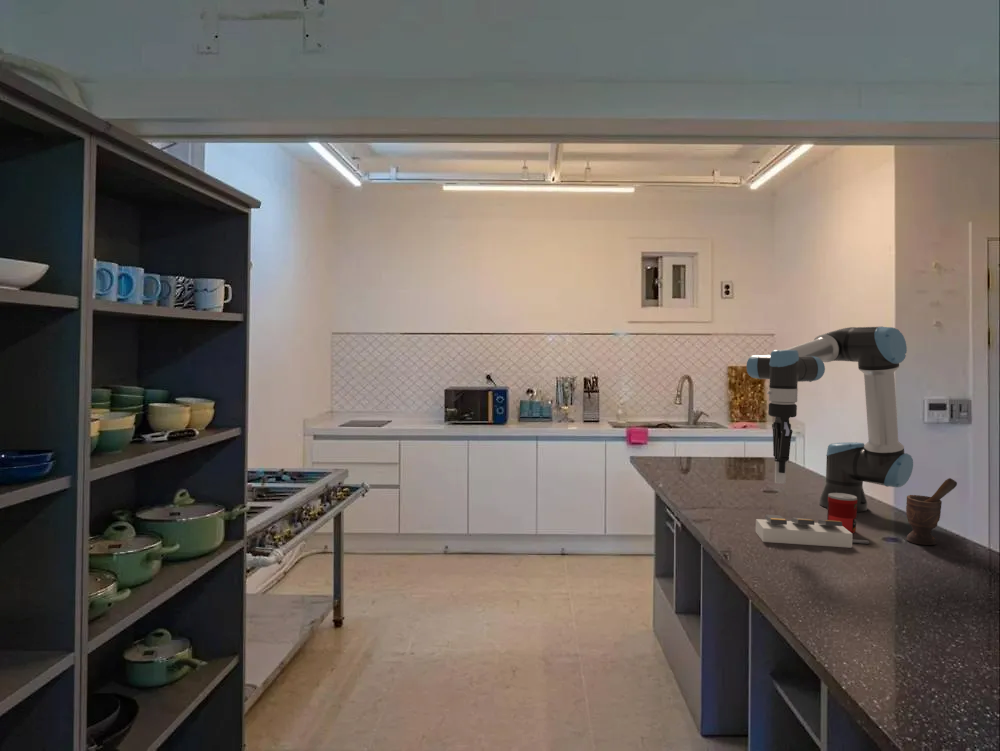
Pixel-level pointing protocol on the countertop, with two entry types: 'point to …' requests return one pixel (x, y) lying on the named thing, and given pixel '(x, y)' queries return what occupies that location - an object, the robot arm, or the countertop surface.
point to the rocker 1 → (776, 519)
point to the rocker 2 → (830, 522)
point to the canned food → (843, 510)
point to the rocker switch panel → (805, 534)
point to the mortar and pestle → (926, 513)
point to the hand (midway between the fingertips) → (780, 483)
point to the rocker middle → (802, 521)
